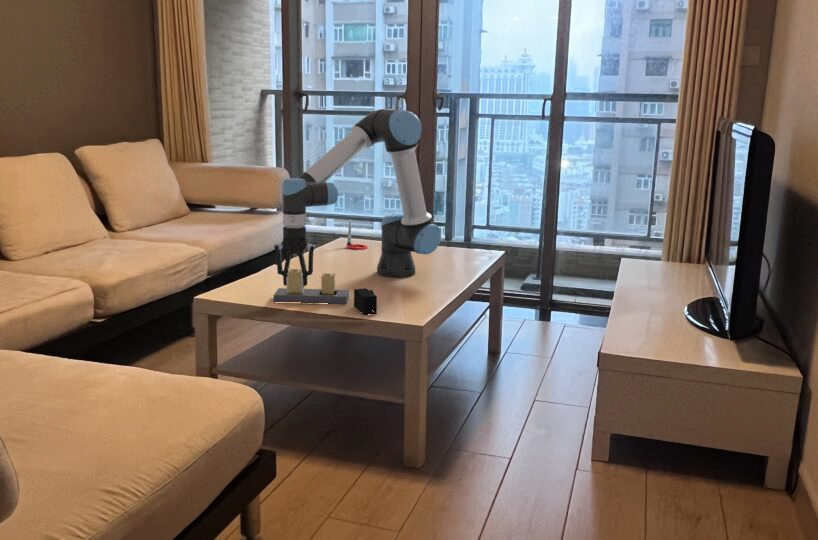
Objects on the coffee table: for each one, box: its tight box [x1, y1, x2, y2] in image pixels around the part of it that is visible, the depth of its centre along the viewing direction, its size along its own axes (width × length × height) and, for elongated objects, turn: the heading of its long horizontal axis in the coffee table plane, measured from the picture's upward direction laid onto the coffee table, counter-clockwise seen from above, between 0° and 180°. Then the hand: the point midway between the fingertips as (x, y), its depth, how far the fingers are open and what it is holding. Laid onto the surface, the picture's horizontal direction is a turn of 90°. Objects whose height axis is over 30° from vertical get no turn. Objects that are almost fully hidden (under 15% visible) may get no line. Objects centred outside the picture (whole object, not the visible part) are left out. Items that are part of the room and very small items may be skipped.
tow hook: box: [345, 219, 368, 251], centre depth 345 cm, size 8×13×9 cm
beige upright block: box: [320, 272, 336, 295], centre depth 256 cm, size 4×4×9 cm
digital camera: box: [353, 287, 378, 316], centre depth 246 cm, size 10×5×7 cm, turn 22°
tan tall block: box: [288, 268, 303, 294], centre depth 256 cm, size 4×4×9 cm
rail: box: [273, 287, 350, 304], centre depth 257 cm, size 24×9×4 cm, turn 89°
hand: (295, 294), depth 257 cm, fingers closed on tan tall block, 4 cm apart
